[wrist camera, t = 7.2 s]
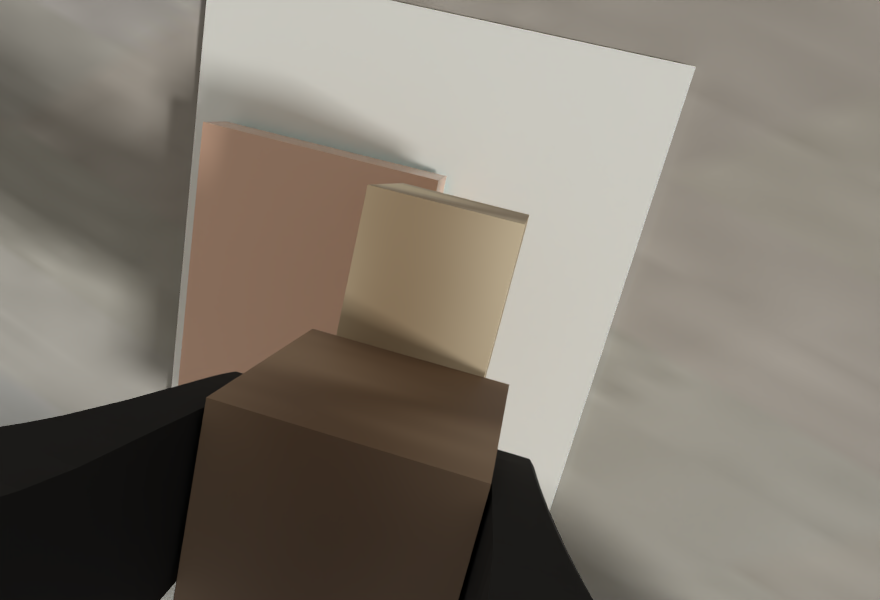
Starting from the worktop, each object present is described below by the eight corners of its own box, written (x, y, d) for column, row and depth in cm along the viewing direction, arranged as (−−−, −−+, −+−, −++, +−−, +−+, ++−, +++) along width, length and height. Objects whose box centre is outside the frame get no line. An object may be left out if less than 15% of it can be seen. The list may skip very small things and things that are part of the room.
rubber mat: (694, 67, 16) (696, 66, 15) (528, 573, 21) (527, 578, 20) (214, -38, 17) (210, -40, 17) (168, 459, 22) (164, 462, 22)
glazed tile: (438, 180, 16) (202, 121, 17) (380, 449, 18) (177, 388, 19) (448, 175, 17) (230, 120, 18) (393, 425, 20) (204, 369, 21)
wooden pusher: (550, 220, 14) (554, 260, 7) (447, 593, 16) (377, 884, 10) (382, 178, 15) (241, 178, 8) (304, 546, 17) (142, 794, 10)
